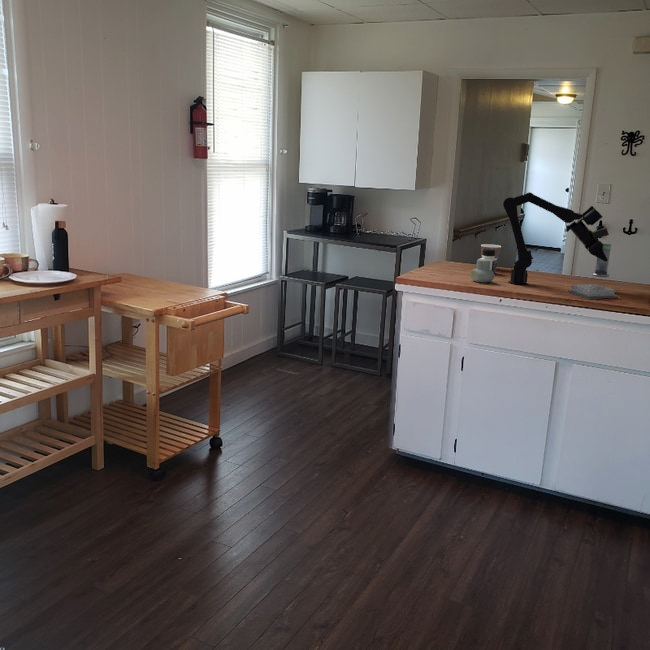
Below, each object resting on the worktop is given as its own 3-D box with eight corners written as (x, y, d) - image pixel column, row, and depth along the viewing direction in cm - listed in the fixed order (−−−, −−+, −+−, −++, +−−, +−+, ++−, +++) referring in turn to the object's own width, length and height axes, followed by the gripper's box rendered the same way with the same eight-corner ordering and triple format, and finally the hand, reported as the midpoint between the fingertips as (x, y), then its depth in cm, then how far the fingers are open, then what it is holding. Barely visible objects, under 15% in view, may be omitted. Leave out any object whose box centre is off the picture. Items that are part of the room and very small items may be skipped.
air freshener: (495, 283, 302) (498, 261, 299) (479, 284, 299) (481, 261, 297) (483, 279, 312) (485, 258, 309) (467, 279, 309) (469, 258, 307)
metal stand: (588, 299, 275) (589, 290, 274) (567, 292, 288) (568, 284, 287) (617, 298, 279) (618, 290, 278) (595, 291, 292) (596, 283, 291)
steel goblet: (597, 277, 290) (602, 244, 287) (588, 274, 297) (593, 242, 294) (612, 277, 292) (617, 245, 288) (602, 274, 298) (607, 243, 295)
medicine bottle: (491, 274, 325) (493, 250, 323) (477, 273, 329) (479, 248, 326) (496, 273, 331) (498, 248, 328) (482, 271, 335) (484, 247, 332)
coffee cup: (501, 271, 339) (503, 247, 336) (480, 270, 339) (483, 246, 336) (496, 267, 349) (498, 244, 346) (476, 267, 349) (478, 243, 346)
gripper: (601, 222, 281) (625, 250, 281) (596, 218, 298) (618, 245, 298) (578, 239, 285) (602, 267, 285) (574, 235, 302) (597, 261, 302)
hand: (606, 260), depth 292 cm, fingers closed on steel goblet, 5 cm apart
